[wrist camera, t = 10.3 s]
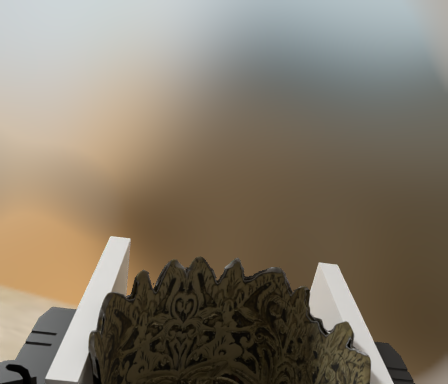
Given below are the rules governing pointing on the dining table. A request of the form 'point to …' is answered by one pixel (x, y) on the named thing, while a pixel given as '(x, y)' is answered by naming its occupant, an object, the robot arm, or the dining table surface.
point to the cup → (219, 332)
